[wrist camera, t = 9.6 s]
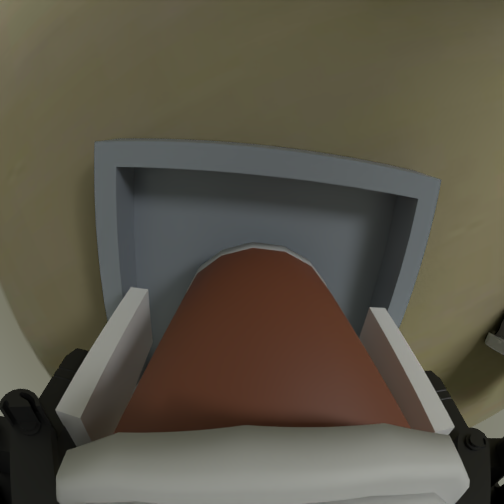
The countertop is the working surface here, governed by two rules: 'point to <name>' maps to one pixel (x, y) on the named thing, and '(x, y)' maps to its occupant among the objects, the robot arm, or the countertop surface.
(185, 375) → the coffee cup
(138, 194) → the dock tray
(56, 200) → the countertop surface
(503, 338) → the electrical switch
